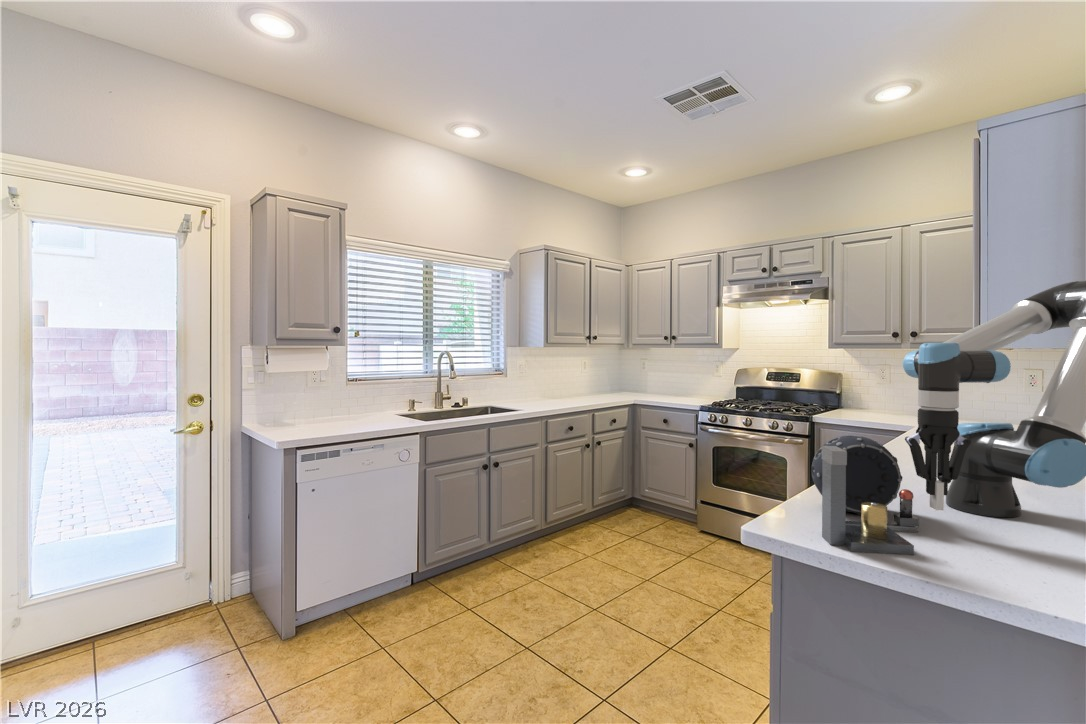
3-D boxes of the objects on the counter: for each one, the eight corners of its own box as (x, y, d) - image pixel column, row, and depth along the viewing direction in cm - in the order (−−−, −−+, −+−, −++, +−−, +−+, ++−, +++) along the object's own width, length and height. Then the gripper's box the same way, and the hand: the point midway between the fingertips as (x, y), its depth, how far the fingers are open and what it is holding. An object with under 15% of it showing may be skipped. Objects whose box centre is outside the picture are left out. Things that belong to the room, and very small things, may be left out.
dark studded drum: (907, 520, 126) (907, 441, 125) (820, 515, 130) (820, 438, 129) (886, 506, 136) (887, 433, 136) (807, 503, 140) (807, 432, 140)
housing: (880, 531, 113) (880, 500, 113) (891, 539, 108) (891, 507, 108) (857, 530, 114) (857, 499, 114) (867, 538, 109) (867, 506, 109)
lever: (911, 521, 120) (912, 488, 120) (918, 526, 117) (919, 491, 117) (893, 521, 121) (893, 487, 121) (899, 525, 118) (900, 490, 118)
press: (912, 528, 120) (913, 441, 119) (956, 557, 104) (958, 456, 103) (808, 523, 124) (809, 439, 123) (835, 550, 108) (836, 453, 107)
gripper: (959, 406, 120) (957, 504, 120) (898, 406, 122) (897, 502, 123) (980, 410, 112) (978, 515, 113) (915, 410, 115) (914, 512, 115)
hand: (936, 508), depth 118 cm, fingers closed
